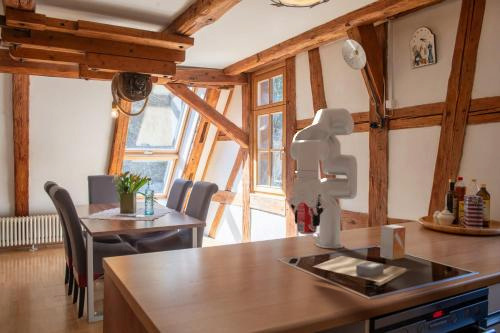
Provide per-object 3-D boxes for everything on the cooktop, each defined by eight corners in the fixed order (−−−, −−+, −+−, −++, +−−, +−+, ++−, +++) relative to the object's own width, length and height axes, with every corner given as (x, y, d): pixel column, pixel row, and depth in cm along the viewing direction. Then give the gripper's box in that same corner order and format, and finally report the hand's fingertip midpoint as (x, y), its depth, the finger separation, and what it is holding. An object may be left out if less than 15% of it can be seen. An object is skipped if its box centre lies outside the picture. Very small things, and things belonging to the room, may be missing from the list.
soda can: (318, 232, 148) (318, 199, 148) (314, 235, 142) (315, 201, 141) (299, 230, 151) (299, 198, 150) (294, 234, 144) (295, 200, 144)
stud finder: (356, 274, 142) (356, 264, 141) (367, 269, 147) (368, 260, 147) (372, 277, 137) (372, 268, 137) (383, 273, 143) (383, 264, 143)
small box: (392, 260, 165) (393, 228, 165) (379, 257, 170) (380, 226, 170) (405, 257, 170) (405, 226, 169) (392, 254, 175) (393, 224, 174)
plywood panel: (312, 269, 150) (312, 266, 150) (342, 258, 167) (342, 255, 167) (379, 285, 133) (380, 282, 133) (405, 271, 149) (405, 268, 149)
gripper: (282, 174, 149) (281, 222, 149) (323, 176, 137) (322, 229, 138) (294, 173, 154) (293, 220, 155) (334, 175, 142) (333, 226, 143)
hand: (307, 224), depth 146 cm, fingers closed on soda can, 7 cm apart
